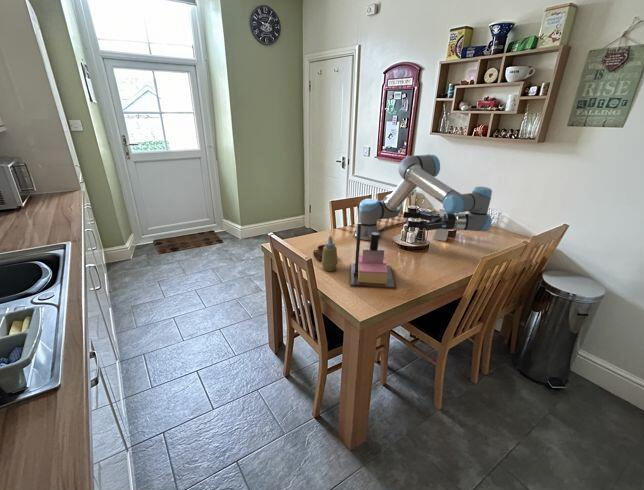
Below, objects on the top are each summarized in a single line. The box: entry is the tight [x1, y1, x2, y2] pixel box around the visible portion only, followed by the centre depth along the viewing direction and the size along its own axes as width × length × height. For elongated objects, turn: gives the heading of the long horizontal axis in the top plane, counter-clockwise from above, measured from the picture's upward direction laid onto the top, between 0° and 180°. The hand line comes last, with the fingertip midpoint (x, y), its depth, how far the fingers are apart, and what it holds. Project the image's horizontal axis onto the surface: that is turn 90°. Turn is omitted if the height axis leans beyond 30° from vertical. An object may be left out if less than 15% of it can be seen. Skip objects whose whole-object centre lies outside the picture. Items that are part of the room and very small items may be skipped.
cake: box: [358, 254, 388, 284], centre depth 159 cm, size 17×13×6 cm
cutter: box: [362, 232, 385, 263], centre depth 154 cm, size 4×10×15 cm, turn 85°
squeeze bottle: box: [321, 235, 338, 272], centre depth 163 cm, size 8×8×18 cm
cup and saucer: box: [312, 244, 325, 261], centre depth 177 cm, size 12×12×6 cm
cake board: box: [350, 222, 396, 290], centre depth 155 cm, size 22×20×27 cm
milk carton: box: [433, 208, 450, 242], centre depth 203 cm, size 7×7×19 cm
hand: (405, 219), depth 149 cm, fingers open, 13 cm apart
